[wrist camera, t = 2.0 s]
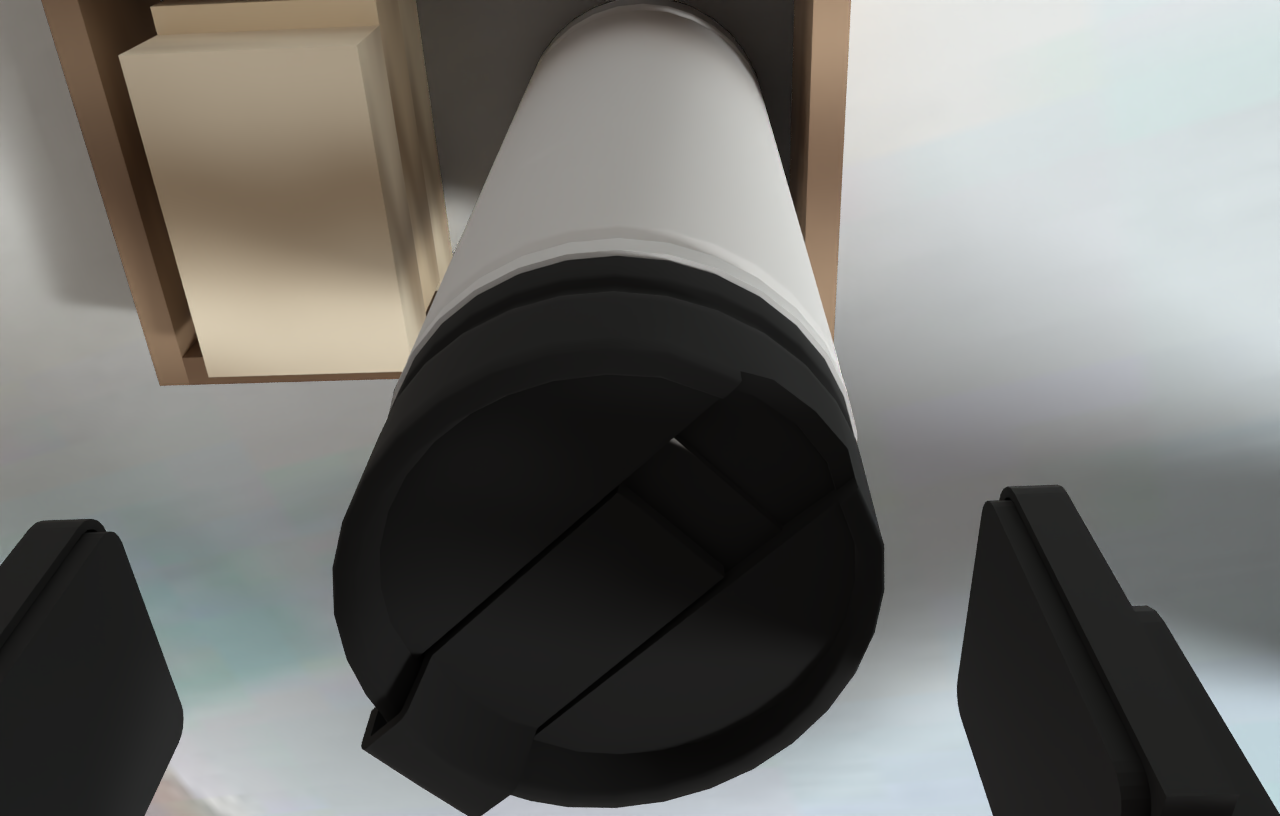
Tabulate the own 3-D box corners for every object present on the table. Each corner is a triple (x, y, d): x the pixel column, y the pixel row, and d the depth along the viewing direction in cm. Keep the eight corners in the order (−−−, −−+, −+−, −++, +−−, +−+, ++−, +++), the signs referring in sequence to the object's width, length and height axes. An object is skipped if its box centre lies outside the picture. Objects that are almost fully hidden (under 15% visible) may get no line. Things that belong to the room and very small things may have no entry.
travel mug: (469, 128, 29) (181, 655, 12) (643, -62, 27) (599, 256, 9) (636, 281, 31) (597, 915, 14) (811, 119, 29) (1027, 648, 12)
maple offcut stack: (455, 271, 31) (412, 371, 26) (284, 277, 32) (208, 377, 26) (412, -33, 27) (351, 14, 22) (215, -24, 27) (109, 25, 22)
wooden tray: (814, 300, 31) (832, 365, 28) (214, 319, 32) (159, 385, 29) (830, -104, 26) (855, -85, 23) (109, -71, 27) (27, -47, 23)
